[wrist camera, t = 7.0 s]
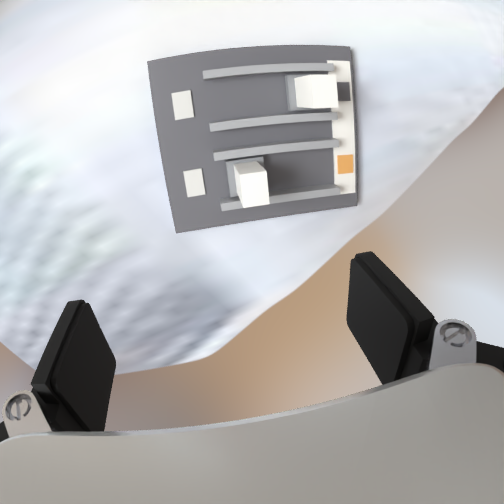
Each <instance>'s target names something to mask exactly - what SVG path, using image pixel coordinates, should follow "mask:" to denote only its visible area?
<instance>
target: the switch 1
mask: <svg viewBox="0 0 504 504" xmlns="http://www.w3.org/2000/svg"><path fill="white" fill-rule="evenodd" d="M225 161H226V169H227V177H228V184H229V192H230V196H231V197H235V196H239V198H240V201H241V203H242V206H243V208H247V207H254V206H261V205H268V204H270V203H269V192H268V181H267V171H266V170H265V169H264V159H263V156H262V155H259V156H252V157H244V158H237V159H230V160H225Z"/></svg>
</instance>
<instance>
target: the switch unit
mask: <svg viewBox="0 0 504 504" xmlns="http://www.w3.org/2000/svg"><path fill="white" fill-rule="evenodd" d="M147 63H148V71H149V79H150V87H151V94H152V102H153V108H154V115H155V122H156V128H157V134H158V141H159V147H160V152H161V158H162V164H163V169H164V175H165V180H166V186H167V191H168V196H169V201H170V206H171V211H172V216H173V221H174V225H175V230H176V233H182V232H187V231H193V230H199V229H205V228H211V227H217V226H223V225H230V224H236V223H242V222H248V221H255V220H261V219H268V218H274V217H281V216H288V215H294V214H301V213H308V212H315V211H322V210H330V209H337V208H344V207H352V206H357V138H356V115H355V98H354V84H353V72H352V61H351V51H350V47H346V46H326V45H276V46H255V47H242V48H230V49H221V50H212V51H205V52H197V53H191V54H184V55H178V56H173V57H167V58H162V59H157V60H152V61H147ZM306 74H323V75H336V81H337V94H338V108H325V109H314V110H296V111H288V104H287V94H286V84H285V76H286V75H306ZM259 155H262V156H263V159H264V169H265V170H266V171H267V181H268V192H269V203H270V204H268V205H261V206H254V207H247V208H243V206H242V203H241V201H240V198H239V196H235V197H231V196H230V192H229V184H228V177H227V169H226V161H225V160H230V159H237V158H244V157H252V156H259Z"/></svg>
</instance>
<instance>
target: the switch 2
mask: <svg viewBox="0 0 504 504" xmlns="http://www.w3.org/2000/svg"><path fill="white" fill-rule="evenodd" d="M285 84H286V94H287V104H288V111H296V110H314V109H325V108H338V94H337V81H336V75H323V74H306V75H286V76H285Z"/></svg>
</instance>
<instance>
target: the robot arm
mask: <svg viewBox="0 0 504 504" xmlns="http://www.w3.org/2000/svg"><path fill="white" fill-rule="evenodd" d="M347 324H348V327H349V329H350V330H351V332H352V334H353V335H354V337H355V339H356V340H357V342H358V344H359V345H360V347H361V349H362V350H363V352H364V354H365V355H366V357H367V359H368V361H369V362H370V364H371V366H372V367H373V369H374V371H375V372H376V374H377V376H378V378H379V379H380V381H381V383H382V385H381V386H378V387H375V388H371V389H368V390H365V391H362V392H358V393H355V394H351V395H348V396H345V397H341V398H338V399H334V400H330V401H326V402H322V403H319V404H315V405H310V406H307V407H302V408H298V409H293V410H289V411H284V412H279V413H275V414H270V415H264V416H259V417H254V418H248V419H242V420H236V421H229V422H223V423H215V424H208V425H199V426H192V427H191V426H190V427H181V428H170V429H157V430H140V431H105V432H104V429H105V423H106V417H107V411H108V404H109V399H110V394H111V388H112V383H113V378H114V373H115V368H116V360H115V357H114V355H113V353H112V351H111V349H110V347H109V345H108V343H107V341H106V339H105V337H104V334H103V332H102V330H101V328H100V326H99V324H98V322H97V319H96V317H95V315H94V313H93V310H92V308H91V306H90V304H89V303H85V301H84V300H76V301H69V302H68V303H67V304H66V306H65V308H64V310H63V312H62V314H61V316H60V318H59V320H58V322H57V325H56V327H55V329H54V331H53V333H52V335H51V337H50V339H49V342H48V344H47V346H46V348H45V351H44V353H43V355H42V357H41V360H40V362H39V364H38V367H37V369H36V372H35V374H34V377H33V379H32V382H31V385H32V386H33V389H32V391H31V392H30V391H27V390H21V391H17V392H15V393H13V394H12V395H11V396H9V398H8V399H7V400H6V401H5V403H4V405H3V408H2V417H3V420H4V421H3V422H2V423H0V504H504V348H502V347H498V346H494V345H490V344H486V343H482V342H478V341H476V334H475V332H474V330H473V329H472V327H470V326H469V325H468V324H467V323H465V322H463V321H460V320H456V319H448V320H444V321H442V322H440V323H438V322H437V321H436V320H435V319H434V316H433V315H432V313H431V312H430V311H429V310H428V309H427V308H426V307H425V306H424V305H423V304H422V303H421V301H420V300H419V299H418V298H417V297H416V296H415V295H414V294H413V293H412V292H411V291H410V290H409V289H408V288H407V287H406V286H405V284H404V283H403V282H402V281H401V280H400V279H399V278H398V277H397V276H396V275H395V274H394V273H393V272H392V271H391V270H390V269H389V268H388V267H387V266H386V265H385V264H384V263H383V262H382V261H381V260H380V259H379V258H378V257H377V256H376V255H375V254H374V253H373V252H371V251H370V252H365V253H359V254H356V255H355V258H354V259H352V260H351V266H350V281H349V295H348V307H347Z"/></svg>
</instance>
